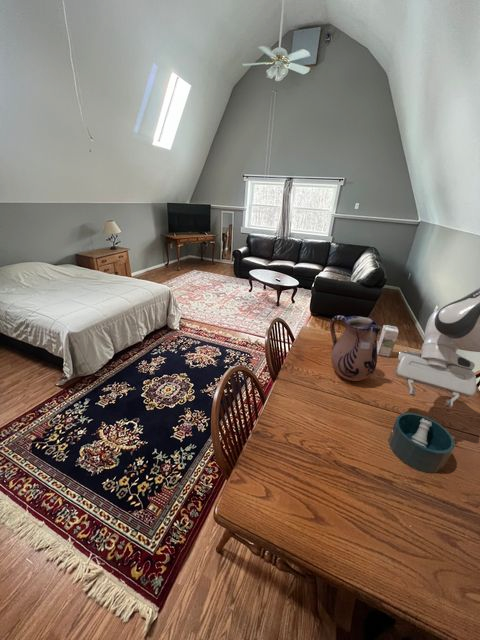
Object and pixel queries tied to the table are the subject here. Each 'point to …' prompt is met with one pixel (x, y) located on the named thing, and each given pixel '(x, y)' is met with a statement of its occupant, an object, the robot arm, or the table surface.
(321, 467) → the table surface
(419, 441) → the rook chess piece
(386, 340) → the syrup box
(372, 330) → the ceramic pitcher
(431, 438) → the pot
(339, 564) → the table surface
